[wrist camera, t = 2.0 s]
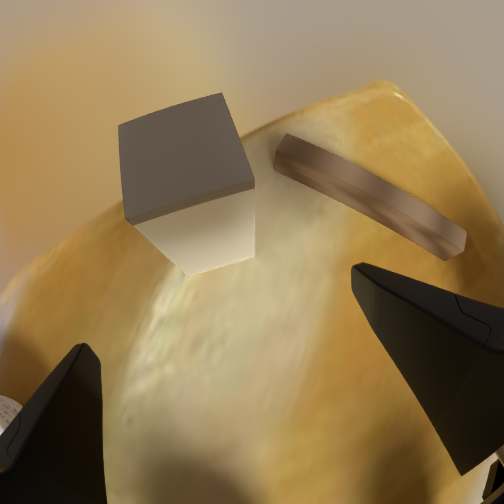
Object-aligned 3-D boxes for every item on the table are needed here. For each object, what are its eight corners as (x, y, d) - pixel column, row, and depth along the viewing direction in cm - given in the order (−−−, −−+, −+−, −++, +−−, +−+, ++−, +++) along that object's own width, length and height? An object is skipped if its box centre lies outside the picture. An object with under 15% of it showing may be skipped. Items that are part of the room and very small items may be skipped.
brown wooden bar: (449, 238, 23) (467, 226, 20) (444, 261, 22) (463, 251, 19) (286, 150, 26) (289, 129, 23) (274, 170, 25) (276, 149, 22)
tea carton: (255, 257, 23) (254, 178, 11) (188, 276, 22) (125, 218, 11) (235, 195, 24) (221, 90, 13) (173, 213, 24) (118, 122, 12)
